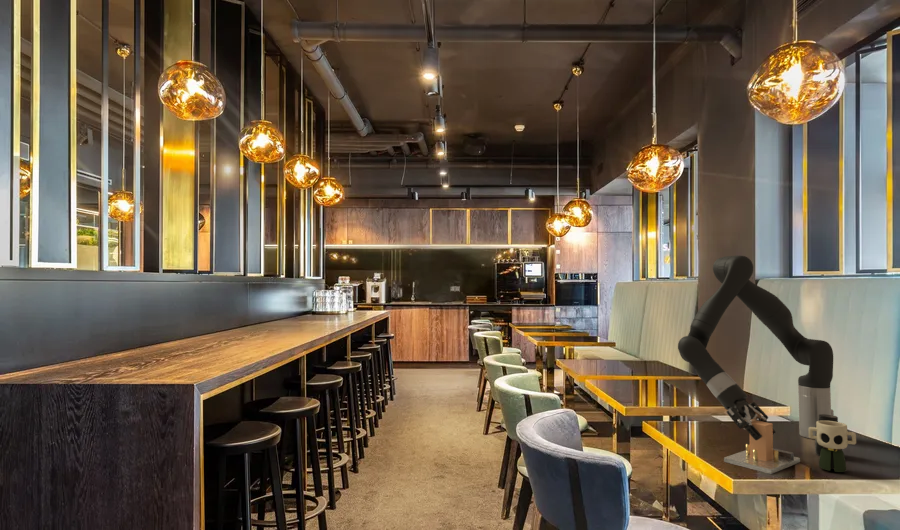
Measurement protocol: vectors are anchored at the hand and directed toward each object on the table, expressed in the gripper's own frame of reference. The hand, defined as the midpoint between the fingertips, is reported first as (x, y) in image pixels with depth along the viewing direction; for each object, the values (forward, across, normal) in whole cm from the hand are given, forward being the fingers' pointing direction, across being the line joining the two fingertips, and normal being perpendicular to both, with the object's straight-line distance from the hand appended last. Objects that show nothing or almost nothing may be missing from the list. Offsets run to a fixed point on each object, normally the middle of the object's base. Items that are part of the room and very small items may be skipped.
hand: (766, 436), depth 159 cm
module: (+3, 0, +6) cm, 7 cm away
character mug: (+15, +8, -4) cm, 18 cm away
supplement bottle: (+11, +24, 0) cm, 26 cm away
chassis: (+4, 0, +6) cm, 8 cm away
